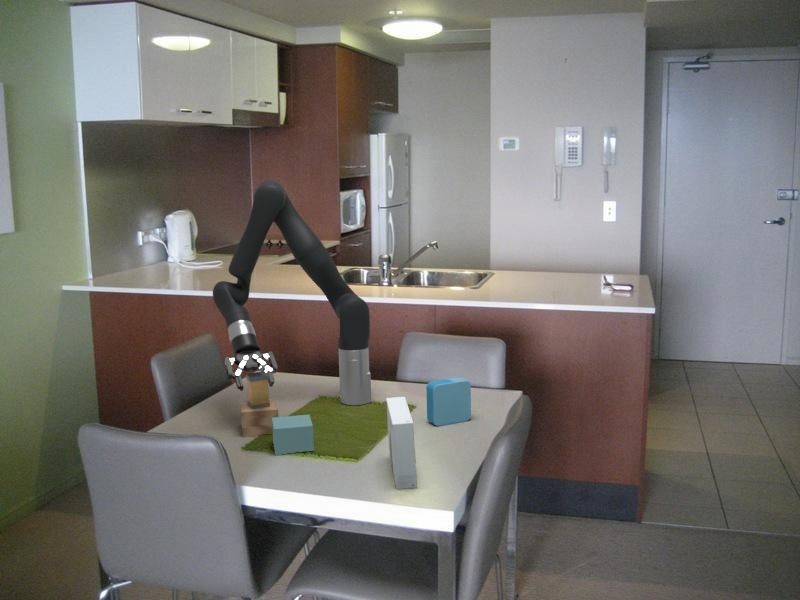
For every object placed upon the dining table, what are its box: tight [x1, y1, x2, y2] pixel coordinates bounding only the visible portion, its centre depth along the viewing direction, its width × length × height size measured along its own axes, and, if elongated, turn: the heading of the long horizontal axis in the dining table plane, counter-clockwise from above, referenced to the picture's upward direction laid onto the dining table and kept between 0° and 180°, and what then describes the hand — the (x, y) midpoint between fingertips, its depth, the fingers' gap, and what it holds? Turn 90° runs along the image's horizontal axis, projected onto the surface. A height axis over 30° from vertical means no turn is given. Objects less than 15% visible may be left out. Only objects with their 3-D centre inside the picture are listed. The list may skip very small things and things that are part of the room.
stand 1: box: [240, 399, 279, 438], centre depth 239 cm, size 10×10×7 cm
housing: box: [245, 371, 270, 409], centre depth 238 cm, size 5×5×9 cm
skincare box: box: [385, 396, 418, 490], centre depth 204 cm, size 21×6×16 cm, turn 5°
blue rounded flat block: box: [425, 376, 472, 427], centre depth 242 cm, size 12×4×12 cm, turn 115°
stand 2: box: [272, 414, 315, 456], centre depth 224 cm, size 10×10×7 cm
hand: (257, 387), depth 238 cm, fingers open, 8 cm apart
